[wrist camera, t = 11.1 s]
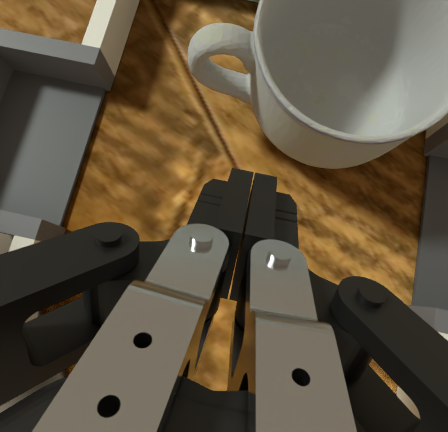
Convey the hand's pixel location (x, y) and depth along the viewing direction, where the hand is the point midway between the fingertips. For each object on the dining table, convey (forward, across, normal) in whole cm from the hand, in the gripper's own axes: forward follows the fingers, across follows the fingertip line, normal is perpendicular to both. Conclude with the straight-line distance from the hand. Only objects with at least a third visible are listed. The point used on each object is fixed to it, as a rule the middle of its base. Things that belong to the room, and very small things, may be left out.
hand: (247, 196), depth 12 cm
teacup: (+15, -2, +1) cm, 15 cm away
